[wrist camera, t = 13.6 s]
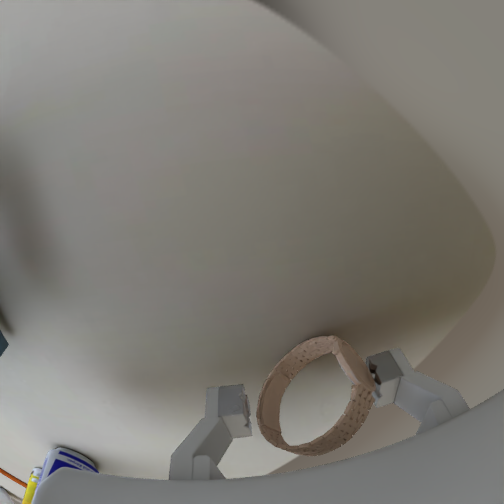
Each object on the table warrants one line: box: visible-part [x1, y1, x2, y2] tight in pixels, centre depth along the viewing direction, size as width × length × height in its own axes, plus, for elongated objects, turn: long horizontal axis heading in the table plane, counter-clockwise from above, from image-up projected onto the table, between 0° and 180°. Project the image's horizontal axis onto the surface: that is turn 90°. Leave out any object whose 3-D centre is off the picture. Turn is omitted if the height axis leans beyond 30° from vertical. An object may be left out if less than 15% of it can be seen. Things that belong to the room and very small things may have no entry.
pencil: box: [0, 468, 28, 488], centre depth 26 cm, size 1×19×1 cm, turn 58°
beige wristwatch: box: [256, 335, 376, 456], centre depth 11 cm, size 3×5×5 cm, turn 135°
